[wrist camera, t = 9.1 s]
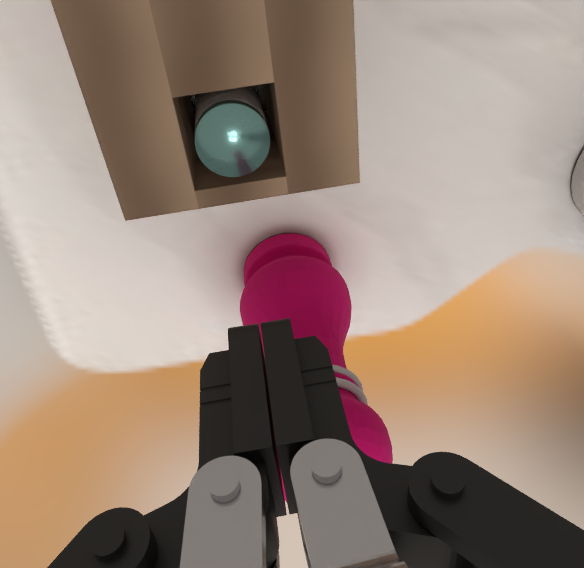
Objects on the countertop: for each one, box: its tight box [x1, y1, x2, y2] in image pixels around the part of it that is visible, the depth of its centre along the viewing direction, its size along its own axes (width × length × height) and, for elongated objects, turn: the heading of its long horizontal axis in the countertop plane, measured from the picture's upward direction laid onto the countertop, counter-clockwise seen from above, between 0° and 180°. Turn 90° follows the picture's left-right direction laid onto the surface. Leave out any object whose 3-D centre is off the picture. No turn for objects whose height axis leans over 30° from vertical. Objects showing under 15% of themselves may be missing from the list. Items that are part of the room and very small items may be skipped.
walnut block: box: [51, 0, 360, 221], centre depth 24 cm, size 11×15×9 cm
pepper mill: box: [240, 233, 393, 502], centre depth 30 cm, size 7×7×20 cm
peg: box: [195, 85, 270, 177], centre depth 26 cm, size 3×3×8 cm
